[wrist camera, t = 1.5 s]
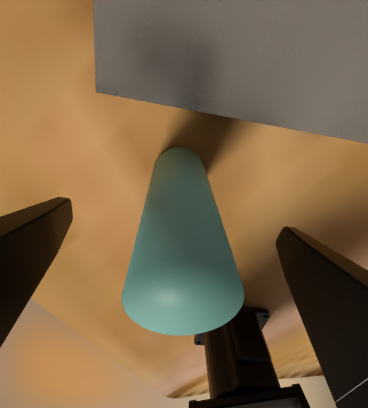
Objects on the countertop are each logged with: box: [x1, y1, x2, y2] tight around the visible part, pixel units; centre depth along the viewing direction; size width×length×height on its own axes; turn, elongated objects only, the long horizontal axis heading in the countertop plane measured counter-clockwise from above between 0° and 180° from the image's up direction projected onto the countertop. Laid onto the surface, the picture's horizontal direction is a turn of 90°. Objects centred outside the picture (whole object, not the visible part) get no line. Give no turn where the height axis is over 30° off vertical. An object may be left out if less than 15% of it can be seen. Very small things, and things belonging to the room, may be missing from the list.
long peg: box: [122, 147, 244, 335], centre depth 9 cm, size 3×3×9 cm
